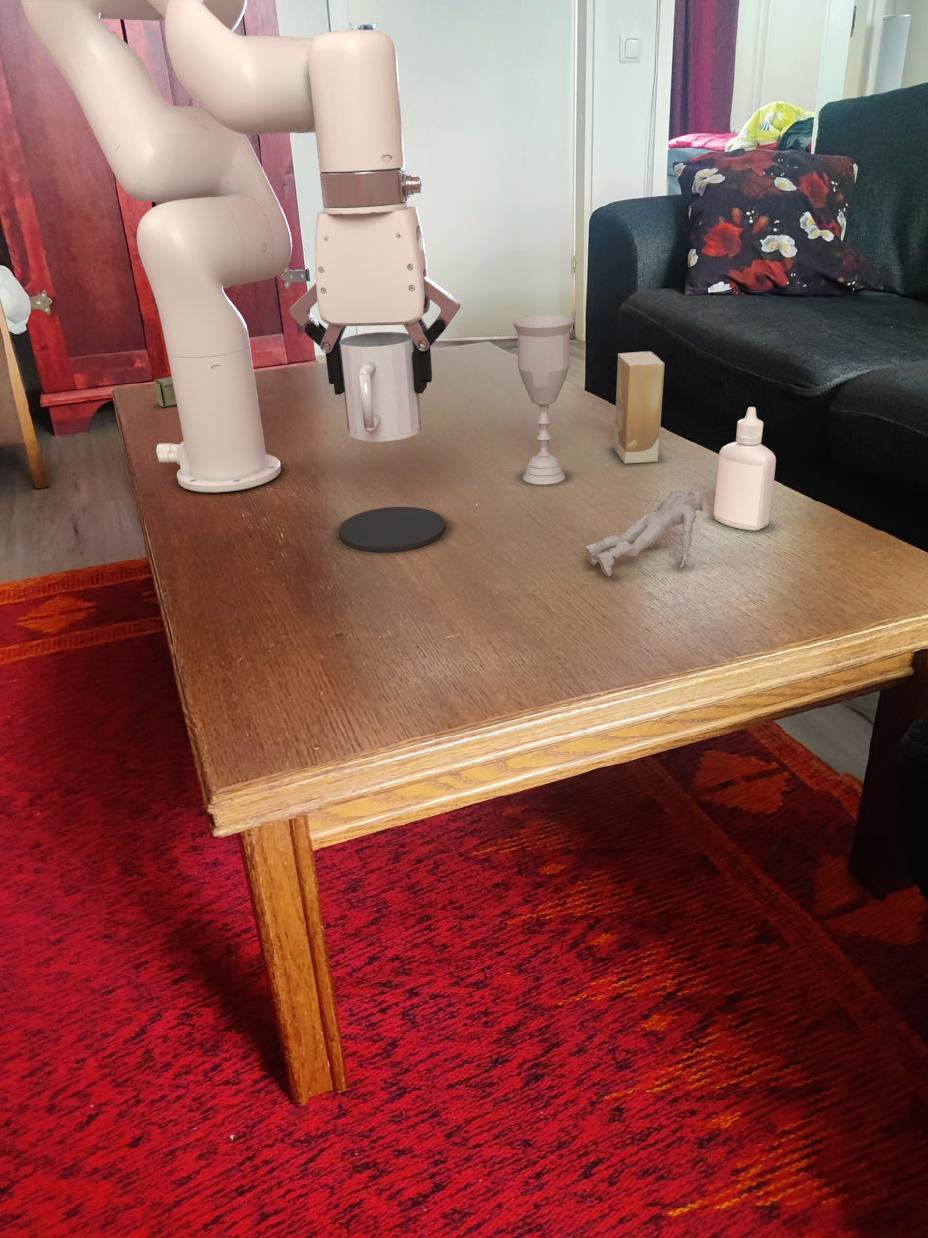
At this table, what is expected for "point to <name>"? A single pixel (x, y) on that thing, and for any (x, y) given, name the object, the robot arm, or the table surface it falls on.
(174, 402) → the medication box
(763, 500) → the eye dropper bottle
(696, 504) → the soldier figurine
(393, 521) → the coaster
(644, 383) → the cosmetic box
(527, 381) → the chalice
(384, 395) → the coffee mug
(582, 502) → the table surface
